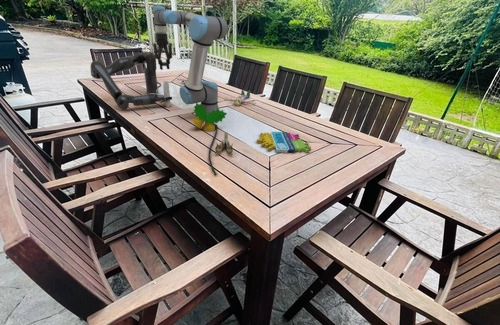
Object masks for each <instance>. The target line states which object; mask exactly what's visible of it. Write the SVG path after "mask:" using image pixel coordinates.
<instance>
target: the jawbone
mask: <svg viewBox="0 0 500 325" xmlns="http://www.w3.org/2000/svg"><path fill="white" fill-rule="evenodd" d="M223 135H224V136H223V140H222V139H221V142H220V144H218V142H215V144H216V146H215V148H214V149H215V152H214V154H215V155H217V156H218V155H220V153H221V152H223V151H224V150H226V152H227V153H228V155H229V156H233V155H234V154H233V153H234V148H233V144H234V143H230V140H228V139H229V138H228V137H229V136H228V135H229V133H228V131H226V132H224V134H223Z"/></svg>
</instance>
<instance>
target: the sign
mask: <svg viewBox="0 0 500 325" xmlns="http://www.w3.org/2000/svg"><path fill="white" fill-rule="evenodd" d="M299 136H300V135H299V134H298V133H296V134H294V133H291V132H287V131H270V132H264V133H263V132H260V133H259V139H258V138H257V139H256V143H257V144H261V148H263V147H264V148H265V149H267V151H268V152H271V151H272V150H273V149H275V152H276V153H283V154H285V153H287V154H288V153H290V154H293V153H296V152H298V153H301V152H305V153H310V151H311V150H312V149H311V148H312V146H309V142H304V141H303V139H302V138H299Z"/></svg>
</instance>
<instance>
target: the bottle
mask: <svg viewBox="0 0 500 325" xmlns="http://www.w3.org/2000/svg"><path fill="white" fill-rule="evenodd" d="M162 88H163V95H164V97H171V93H170V91H171V90H170V83H169V81H168V80H163V83H162ZM165 100H166V99H165ZM171 105H172V104H171V100H167V102H164V107H171Z"/></svg>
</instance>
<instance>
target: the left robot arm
mask: <svg viewBox="0 0 500 325" xmlns="http://www.w3.org/2000/svg"><path fill="white" fill-rule="evenodd" d="M142 64H145V65H146V66H145V68H144V69H143V74H144V81H145V82H144V83H145V90H146V94H139V95H131V94H123V92H122V90H121V89H120V87H119V86H118V85H117V83H116V82H115V81H114V79H113V78H112V75H115V74H119V73H121V72H126V71H129V70H132V69H133V68H135V67H136V66H138V65H142ZM90 76H91V77H92V78H93V79H96V80H102V82H103V84H104V86H105V88H106V90H107V92H108V93H109V94H110V96H111V97H112V98H113V100H114V102H115V104H116V105H117V107H118V108H119V109H121V110H127V109H129V107H130V104H132V105H133V106H134V107H140V106H154V105H156V104H157V102H158V103H160V104H162V103H165V102H167V100H170V101H172V100H173V96H170V97H164V94H159V88H160V87H161V86H162V84H161V83H160V82H158V80H157V59H155V54H154V52H151V51H142V52H140V53H139V52H138V53H137V54H133V55H128V56H123V57H118V58H116V59H115V60H114V61H112V62H111V63H110V64H109V65H107V66H106V65H105V63H103V62H102V61H100V60H93V61H92V62H91V63H90ZM158 84H159V85H158ZM165 99H166V100H165Z"/></svg>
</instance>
